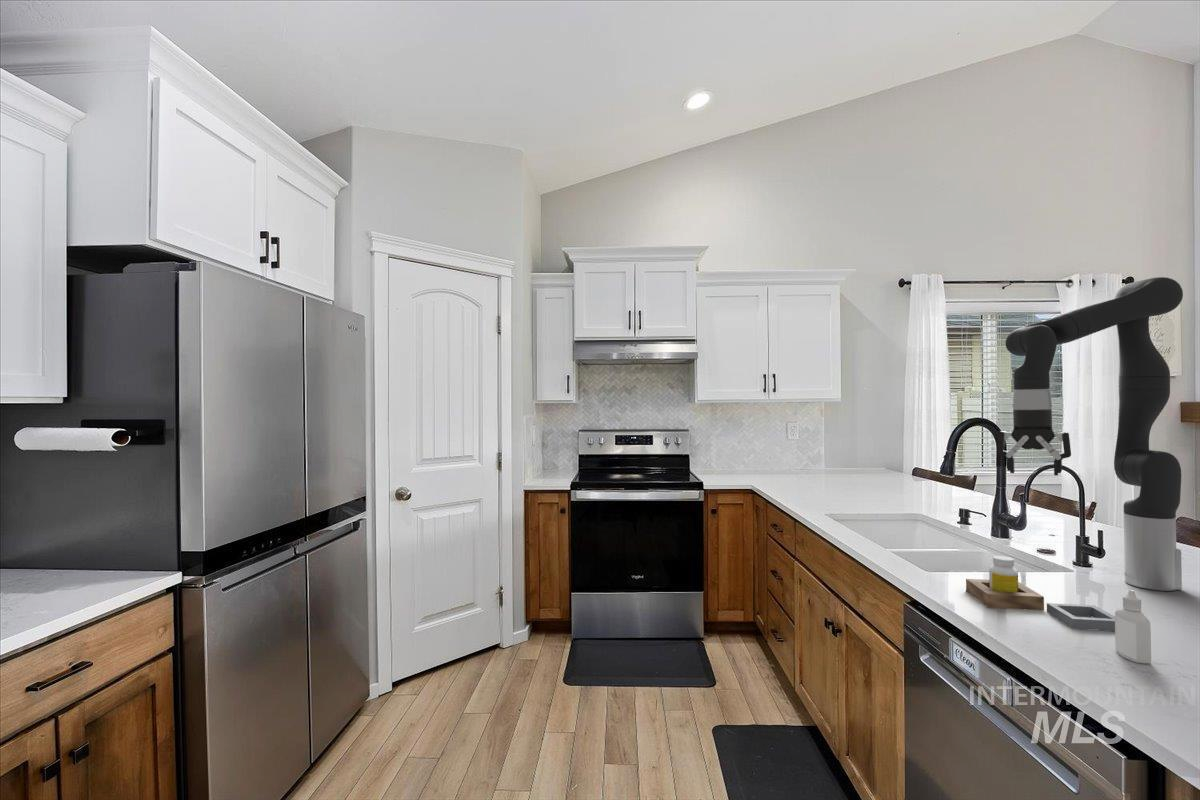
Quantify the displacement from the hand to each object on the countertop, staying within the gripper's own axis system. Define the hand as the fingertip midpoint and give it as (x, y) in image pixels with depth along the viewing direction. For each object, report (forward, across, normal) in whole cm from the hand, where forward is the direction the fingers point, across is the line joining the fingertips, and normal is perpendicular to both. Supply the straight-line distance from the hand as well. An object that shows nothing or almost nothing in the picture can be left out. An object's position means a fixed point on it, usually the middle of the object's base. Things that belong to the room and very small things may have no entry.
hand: (1033, 474), depth 138 cm
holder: (+28, -9, +20) cm, 35 cm away
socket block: (+28, +5, +16) cm, 32 cm away
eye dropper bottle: (+28, -16, +36) cm, 48 cm away
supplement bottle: (+28, +5, +16) cm, 32 cm away
